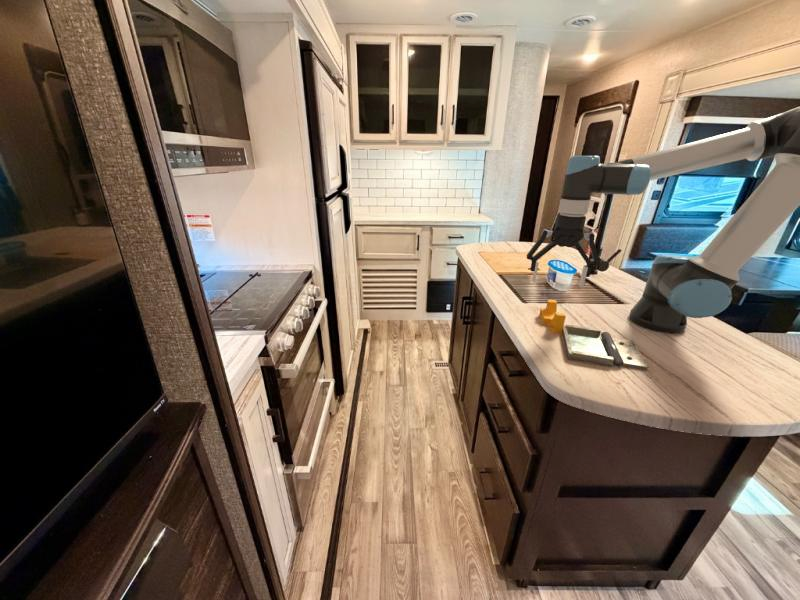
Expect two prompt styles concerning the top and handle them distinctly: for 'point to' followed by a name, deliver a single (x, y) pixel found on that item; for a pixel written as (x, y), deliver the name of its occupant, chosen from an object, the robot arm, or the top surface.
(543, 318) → the orange stepped block
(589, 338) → the hinge base
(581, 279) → the robot arm
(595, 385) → the top surface
